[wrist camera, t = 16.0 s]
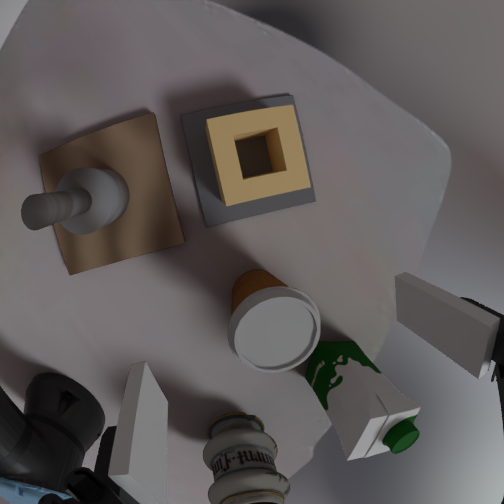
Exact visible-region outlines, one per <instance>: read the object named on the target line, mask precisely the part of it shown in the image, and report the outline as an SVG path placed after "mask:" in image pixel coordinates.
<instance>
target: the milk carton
mask: <svg viewBox="0 0 504 504" xmlns="http://www.w3.org/2000/svg"><path fill="white" fill-rule="evenodd" d="M305 379H306V380H307V382H308V383H309V384H310V386H311V387H312V389H313V390H314V392H315V393H316V395H317V397H318V399H319V401H320V402H321V404H322V406H323V408H324V409H325V411H326V413H327V415H328V417H329V418H330V420H331V422H332V424H333V426H334V427H335V429H336V432H337V434H338V437H339V439H340V442H341V445H342V448H343V451H344V453H345V457H346V460H352V459H356V458H361V457H364V458H365V457H369V456H372V455H375V454H378V453H382V452H386V451H388V450H391V452H392V453H394V454H397V453H400V452H402V451H404V450H406V449H407V448H409V447H410V446H411V445H412V444H414V442H415V441H416V440H417V439H418V437H419V431H418V429H417V428H416V427H415V426H414V424H413V423H414V419H415V418H416V416H417V413H418V411H419V410H420V406H418V405H417V404H415V403H414V402H413V401H412V400H410V399H409V398H408V397H406V396H405V395H404V394H402V393H401V392H399V391H398V390H397V389H396V388H395V387H394V386H393V385H392V384H391V383H390V382H389V380H388V379H387V378H386V377H385V376H384V375H383V374H382V373H381V372H380V371H379V369H378V368H377V367H376V366H375V365H374V364H373V363H372V362H371V361H370V360H369V359H368V357H367V356H366V355H365V354H364V353H363V351H362V350H361V349H360V347H359V346H358V345H357V344H356V342H318V343H317V345H316V347H315V349H314V351H313V354H312V357H311V361H310V364H309V367H308V371H307V374H306V377H305Z"/></svg>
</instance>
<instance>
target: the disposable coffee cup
mask: <svg viewBox="0 0 504 504" xmlns="http://www.w3.org/2000/svg"><path fill="white" fill-rule="evenodd" d="M320 324H321V323H320V314H319V311H318V308H317V306H316V305H315V303H314V302H313V301H312V299H311V298H310V297H309V296H307V295H306V294H305V293H303V292H301V291H299V290H297V289H294V288H290V287H288V286H287V285H285V284H284V283H283V282H281V281H280V280H278V279H277V278H275V277H274V276H273V275H271V274H270V273H268V272H266V271H262V270H253V271H249V272H247V273H245V274H243V275H242V276H241V277H239V278H238V279H237V281H236V282H235V284H234V287H233V290H232V316H231V319H230V322H229V325H228V341H229V345H230V348H231V350H232V352H233V353H234V355H235V356H236V357H237V358H238V359H239V360H240V361H241V362H243V363H244V364H245V365H247V366H248V367H250V368H251V369H254V370H256V371H259V372H264V373H277V372H283V371H286V370H290V369H292V368H294V367H296V366H298V365H299V364H301V363H302V362H303V361H305V360H306V359H307V358H308V357H309V356H310V354H311V353H312V352H313V351H314V349H315V347H316V345H317V343H318V341H319V337H320V328H321V327H320Z"/></svg>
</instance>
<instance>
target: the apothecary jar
mask: <svg viewBox="0 0 504 504" xmlns="http://www.w3.org/2000/svg"><path fill="white" fill-rule="evenodd" d="M208 436H209V438H210V440H209V441H208V443H207V444H206V445H205V447H204V450H203V460H204V462H205V464H206V465H207V467H208V468H209V469H210V470H212V471H213V475H214V481H215V482H214V483H213V484H212V485H211V486H210V488H209V491H208V498H209V501H210V502H211V504H284V500H285V499H286V498H287V496H288V494H289V491H290V484H289V481H288V479H287V478H286V477H285V476H284V475H282V474H280V473H278V472H277V470H276V467H275V464H274V460H275V458H276V456H277V451H278V450H277V445H276V442H275V441H274V440H273V438H272V437H271V436H270V435H268V434H267V433H265V432H264V425H263V423H262V421H261V420H260V419H259V418H257V417H256V416H247V415H246V414H245V413H230V414H227V415H223V416H221V417H219V418H217V419H216V420H214V421H213V422H212V423H211V424H210V426H209V428H208Z"/></svg>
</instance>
